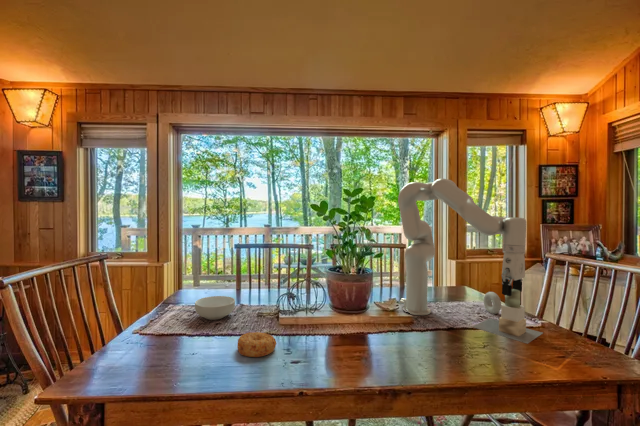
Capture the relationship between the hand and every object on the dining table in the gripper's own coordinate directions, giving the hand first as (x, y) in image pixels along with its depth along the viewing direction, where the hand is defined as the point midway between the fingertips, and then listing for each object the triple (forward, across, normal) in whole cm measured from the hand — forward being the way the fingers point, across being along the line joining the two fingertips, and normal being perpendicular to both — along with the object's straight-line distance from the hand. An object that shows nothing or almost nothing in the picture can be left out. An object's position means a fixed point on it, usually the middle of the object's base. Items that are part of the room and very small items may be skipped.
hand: (512, 293), depth 125 cm
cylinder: (+5, 0, 0) cm, 5 cm away
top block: (+10, 0, -1) cm, 10 cm away
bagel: (+17, -86, +46) cm, 99 cm away
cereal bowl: (+17, -85, +86) cm, 122 cm away
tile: (+16, 0, +1) cm, 16 cm away
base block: (+15, 0, -1) cm, 15 cm away
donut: (+16, +17, +14) cm, 27 cm away
